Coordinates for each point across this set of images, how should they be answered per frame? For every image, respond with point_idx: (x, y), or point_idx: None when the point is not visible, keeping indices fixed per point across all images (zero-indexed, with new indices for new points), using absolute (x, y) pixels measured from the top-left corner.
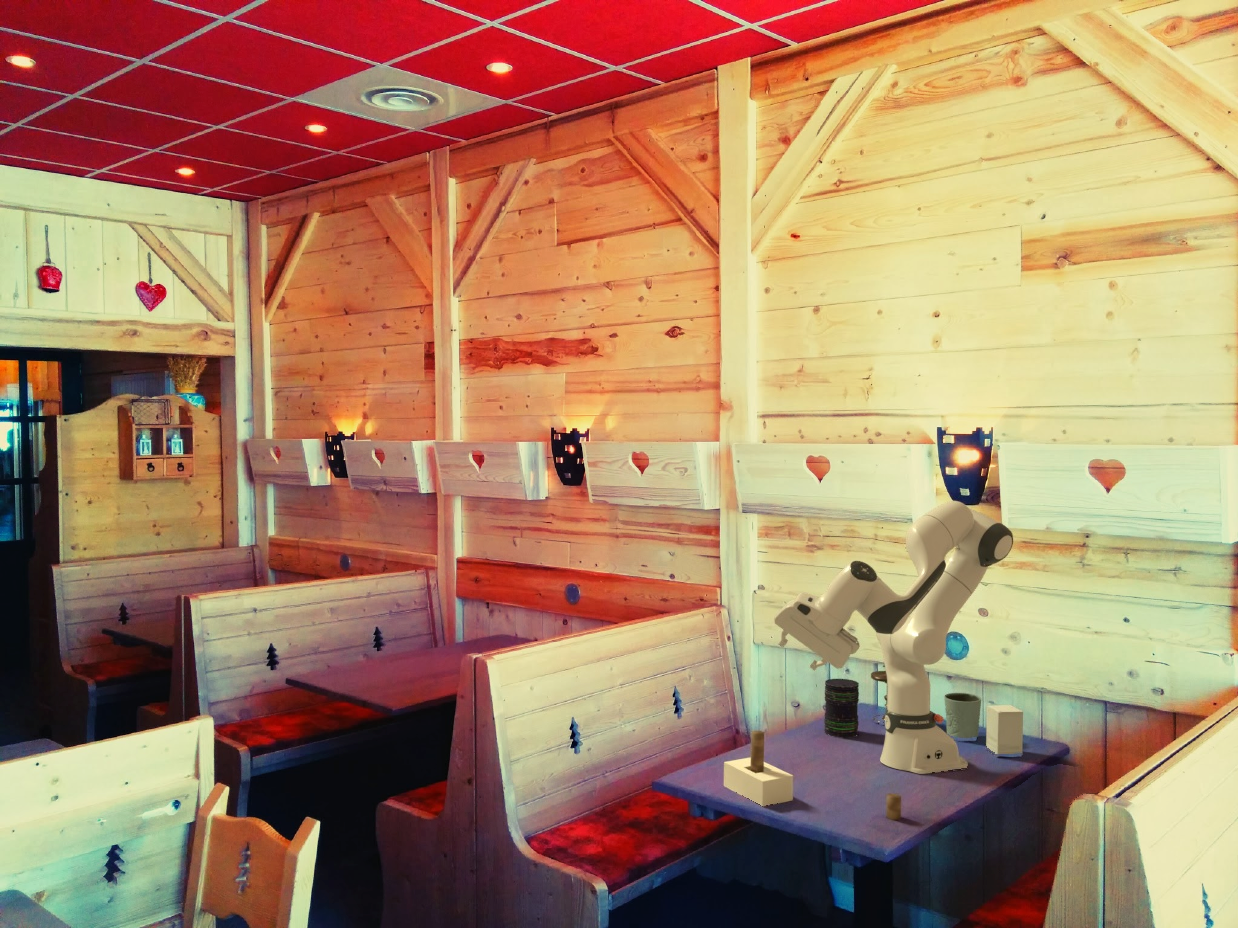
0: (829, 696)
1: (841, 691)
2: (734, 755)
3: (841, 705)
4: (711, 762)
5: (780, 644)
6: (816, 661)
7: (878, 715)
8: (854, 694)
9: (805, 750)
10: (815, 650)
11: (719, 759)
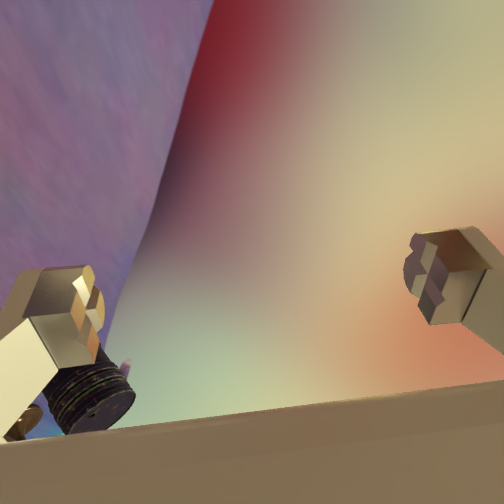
0: (105, 372)
1: (86, 399)
2: (179, 88)
3: (70, 374)
4: (210, 4)
5: (463, 232)
6: (65, 363)
7: (39, 419)
8: (60, 415)
9: (60, 222)
10: (103, 474)
11: (200, 39)
